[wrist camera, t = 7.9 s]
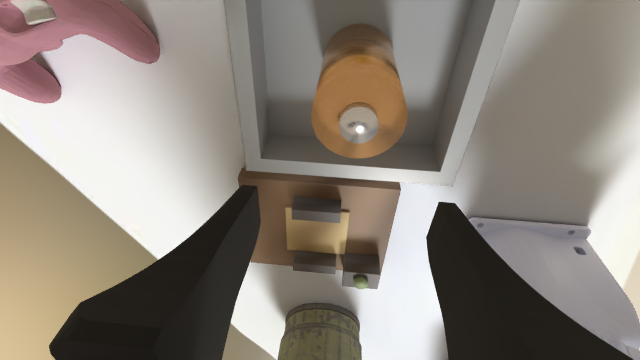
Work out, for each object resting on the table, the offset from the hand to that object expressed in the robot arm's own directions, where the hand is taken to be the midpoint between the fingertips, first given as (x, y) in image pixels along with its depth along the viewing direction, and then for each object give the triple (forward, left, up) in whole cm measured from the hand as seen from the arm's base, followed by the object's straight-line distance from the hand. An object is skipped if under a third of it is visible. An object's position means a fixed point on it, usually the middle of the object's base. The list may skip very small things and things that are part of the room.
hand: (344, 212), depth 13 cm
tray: (0, -3, -10) cm, 11 cm away
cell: (0, -3, -10) cm, 10 cm away
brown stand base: (+2, +11, -10) cm, 15 cm away
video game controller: (+17, -3, -11) cm, 20 cm away
